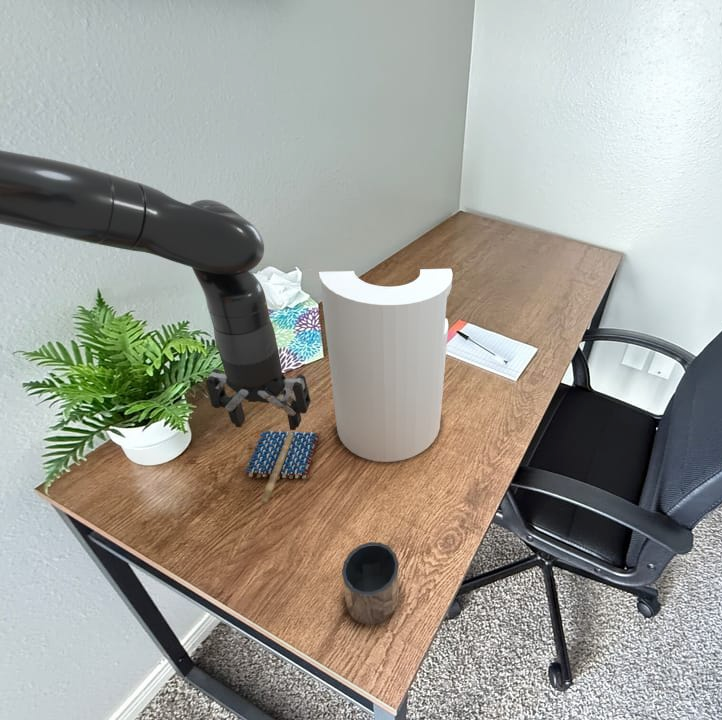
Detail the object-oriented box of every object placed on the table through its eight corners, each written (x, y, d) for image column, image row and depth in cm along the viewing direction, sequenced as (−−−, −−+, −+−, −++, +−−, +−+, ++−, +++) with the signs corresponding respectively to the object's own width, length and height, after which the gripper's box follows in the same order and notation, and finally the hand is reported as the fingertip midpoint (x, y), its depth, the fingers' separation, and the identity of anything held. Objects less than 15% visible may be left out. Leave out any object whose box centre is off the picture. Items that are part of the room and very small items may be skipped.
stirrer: (289, 430, 87) (291, 460, 76) (295, 433, 88) (297, 463, 76) (261, 468, 87) (259, 503, 75) (267, 471, 87) (266, 506, 76)
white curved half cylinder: (336, 424, 94) (438, 413, 100) (338, 469, 85) (449, 453, 91) (318, 269, 72) (450, 266, 78) (319, 308, 64) (466, 301, 70)
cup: (395, 625, 66) (394, 596, 60) (341, 624, 65) (336, 594, 60) (400, 574, 72) (401, 543, 66) (352, 572, 71) (348, 541, 65)
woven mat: (307, 481, 83) (306, 474, 81) (245, 479, 82) (243, 472, 80) (320, 437, 91) (319, 430, 90) (264, 435, 90) (262, 427, 88)
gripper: (306, 334, 69) (318, 411, 79) (207, 327, 68) (231, 406, 78) (291, 366, 64) (306, 445, 74) (183, 359, 62) (212, 439, 72)
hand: (267, 425), depth 76 cm, fingers open, 8 cm apart
